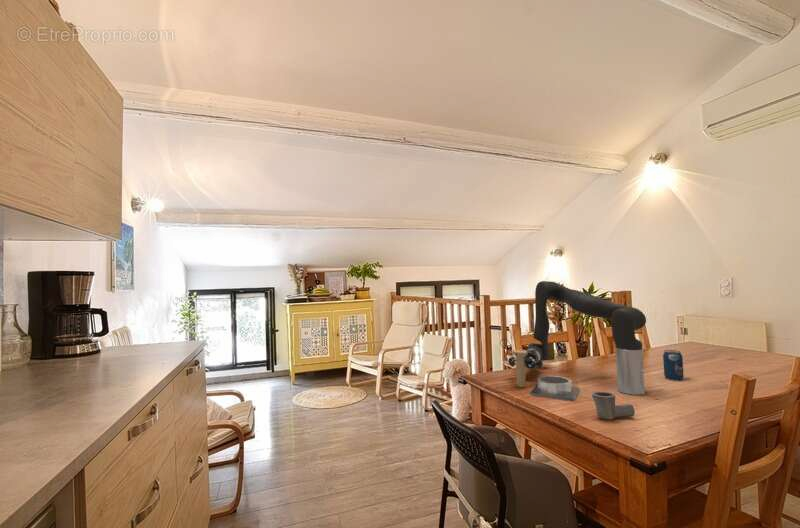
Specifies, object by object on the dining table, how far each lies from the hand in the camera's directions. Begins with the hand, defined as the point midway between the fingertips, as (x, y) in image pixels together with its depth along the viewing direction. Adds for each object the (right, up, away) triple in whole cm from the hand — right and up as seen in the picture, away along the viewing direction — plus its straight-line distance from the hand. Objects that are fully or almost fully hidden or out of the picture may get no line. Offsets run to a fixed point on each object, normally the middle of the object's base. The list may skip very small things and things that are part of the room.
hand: (521, 365), depth 163 cm
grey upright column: (-1, -9, -2) cm, 9 cm away
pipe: (+18, -7, -39) cm, 43 cm away
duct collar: (+10, -8, -11) cm, 17 cm away
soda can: (+68, -7, +2) cm, 68 cm away
